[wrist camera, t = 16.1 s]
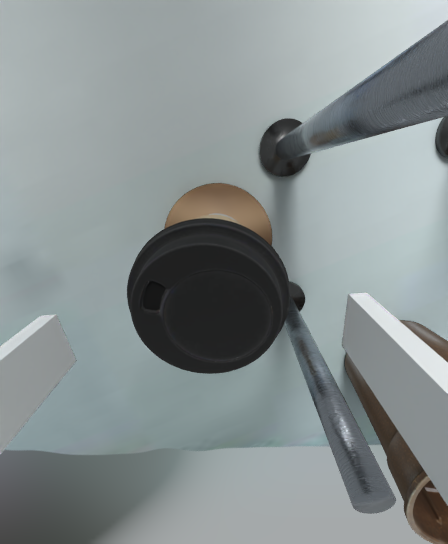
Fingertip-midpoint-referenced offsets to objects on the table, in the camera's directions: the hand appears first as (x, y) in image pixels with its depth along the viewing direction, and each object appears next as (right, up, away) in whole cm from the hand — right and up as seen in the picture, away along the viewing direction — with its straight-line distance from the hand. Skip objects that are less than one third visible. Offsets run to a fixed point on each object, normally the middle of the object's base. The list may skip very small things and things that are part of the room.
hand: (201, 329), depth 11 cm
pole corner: (+7, +15, +12) cm, 21 cm away
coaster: (0, +6, +16) cm, 17 cm away
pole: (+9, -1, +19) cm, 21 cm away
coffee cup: (0, +6, +15) cm, 17 cm away
